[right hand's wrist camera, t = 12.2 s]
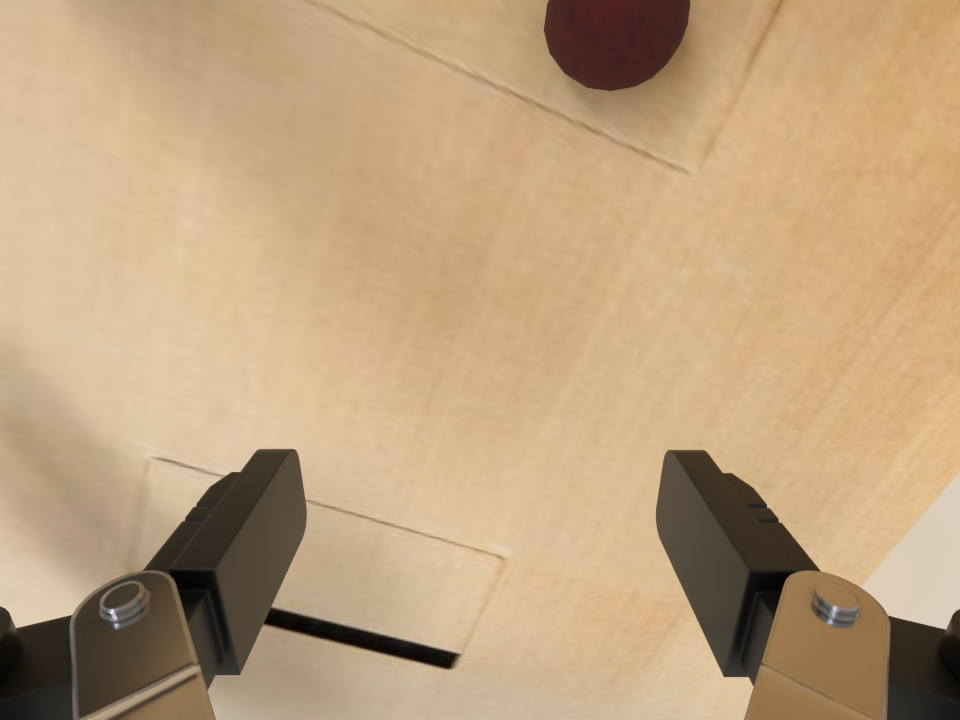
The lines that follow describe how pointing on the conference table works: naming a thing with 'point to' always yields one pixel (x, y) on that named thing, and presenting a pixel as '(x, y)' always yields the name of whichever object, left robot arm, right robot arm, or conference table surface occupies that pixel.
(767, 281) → the conference table surface
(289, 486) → the right robot arm
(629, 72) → the potato
